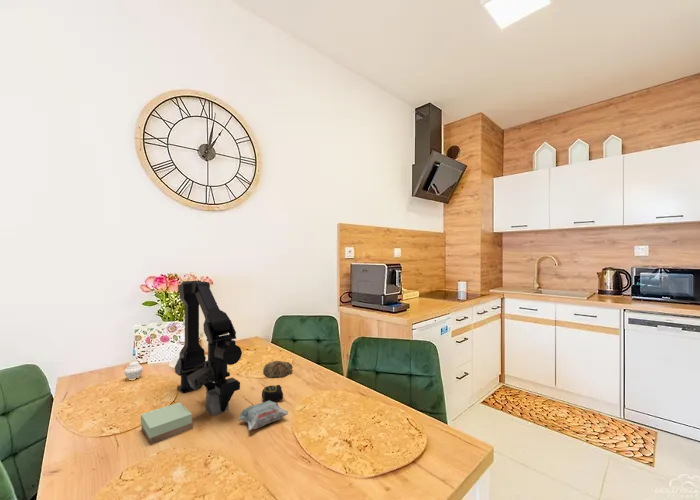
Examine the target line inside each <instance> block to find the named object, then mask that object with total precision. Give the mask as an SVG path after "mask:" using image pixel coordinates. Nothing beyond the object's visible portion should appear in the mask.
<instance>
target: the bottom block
mask: <svg viewBox="0 0 700 500" xmlns="http://www.w3.org/2000/svg"><path fill="white" fill-rule="evenodd" d="M193 429H194V421H192V423H190V424H188V425H185V426H182V427H179V428H177V429H174V430H171V431H169V432H166V433H163V434H160V435H158V436H155V437H152V438H149V436H148V435H147V433H146V431H145V430H144V428H143V427H142V426H141V432H142V433H143V434H144V436H145V437H146V439H147V440H148V442H149V443H150V445H155V444H157V443H161V442H162V441H165V440H167V439H170V438H173V437H175V436H177V435H180V434H183V433H185V432H187V431H191V430H193Z"/></svg>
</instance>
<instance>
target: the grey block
mask: <svg viewBox="0 0 700 500" xmlns="http://www.w3.org/2000/svg"><path fill="white" fill-rule="evenodd" d="M214 392H216V391H215V389H213V390H210V391H205V411H206V413H208V414H209V415H210V416H212V417H214V416H217V415H221V414H223V413H225V412H227V411H229V407H230V406H229V405H230V404H229V403H228V405H227V407H226V409H225V411H223V412H221V409H220V403H219V396H218V395H216V394H215V393H214Z"/></svg>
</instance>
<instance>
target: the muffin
mask: <svg viewBox="0 0 700 500" xmlns="http://www.w3.org/2000/svg"><path fill="white" fill-rule="evenodd" d="M143 369H144V368H143V366H142V365H141V364H140V362H139V361H137V360H136V361H131V362H130V363H128V366H127V367H126V368H125V370H124V372H123V373H124V375H125V377H126V379H127V378H128V379H134V378H138V377H139V378H140V376H141V374H142V372H143V371H144V370H143ZM139 378H138V379H139ZM128 379H127V380H128Z"/></svg>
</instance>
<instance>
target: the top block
mask: <svg viewBox="0 0 700 500" xmlns="http://www.w3.org/2000/svg"><path fill="white" fill-rule="evenodd" d="M192 422H193V417H192V413H191V411H189V409H187V407H186V406H184V404H183V403H182V402H180V401H179V402H177V403H174V404H170V405H167V406H163V407H160V408H157V409H153V410H151V411H148V412H144V413H141V414H140V425H141V428H142V427H143V428H144V430H145V431H146V433H147V435H148V436H149V438H152V437H155V436H158V435H160V434H163V433H166V432H169V431H171V430H174V429H177V428H179V427H182V426H185V425H188V424H190V423H192Z"/></svg>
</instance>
